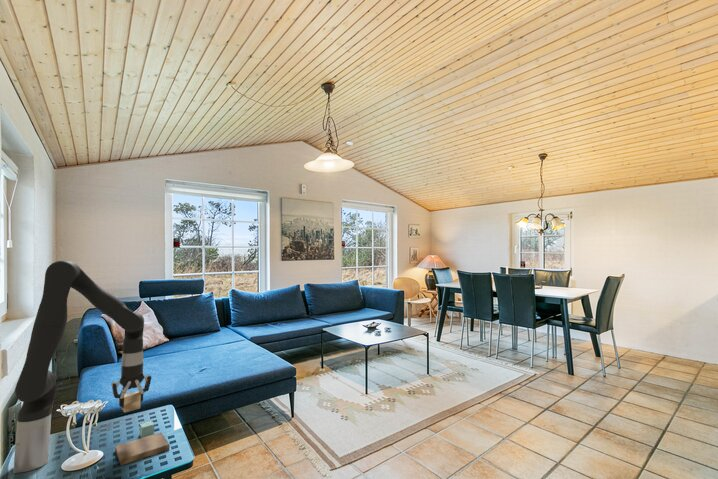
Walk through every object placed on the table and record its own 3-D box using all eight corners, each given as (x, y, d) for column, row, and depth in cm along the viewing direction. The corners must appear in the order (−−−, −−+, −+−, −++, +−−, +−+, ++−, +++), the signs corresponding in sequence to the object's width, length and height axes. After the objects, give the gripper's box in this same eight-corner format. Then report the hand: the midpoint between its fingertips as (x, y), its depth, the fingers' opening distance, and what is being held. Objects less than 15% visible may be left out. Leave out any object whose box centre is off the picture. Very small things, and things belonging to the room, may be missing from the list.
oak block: (124, 412, 136) (124, 398, 137) (121, 408, 140) (122, 394, 141) (140, 408, 140) (140, 394, 140) (137, 404, 144) (137, 391, 144)
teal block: (141, 438, 144) (142, 427, 145) (139, 434, 148) (140, 424, 148) (153, 435, 147) (154, 424, 148) (151, 431, 151) (151, 420, 151)
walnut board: (120, 465, 125) (121, 459, 125) (115, 451, 135) (115, 445, 135) (169, 449, 136) (169, 444, 136) (161, 437, 146) (161, 432, 146)
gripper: (112, 368, 134) (111, 413, 132) (154, 361, 144) (153, 402, 142) (109, 364, 139) (108, 407, 138) (150, 357, 149) (149, 397, 148)
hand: (131, 404), depth 140 cm, fingers closed on oak block, 5 cm apart
